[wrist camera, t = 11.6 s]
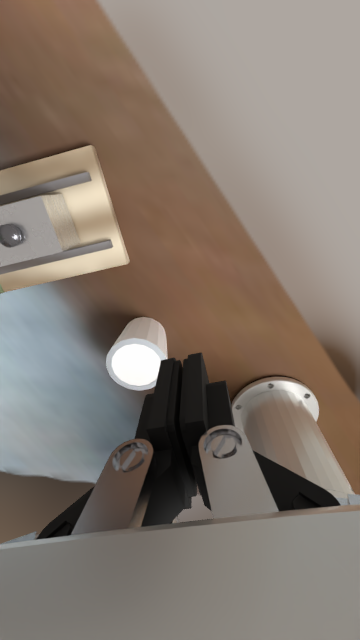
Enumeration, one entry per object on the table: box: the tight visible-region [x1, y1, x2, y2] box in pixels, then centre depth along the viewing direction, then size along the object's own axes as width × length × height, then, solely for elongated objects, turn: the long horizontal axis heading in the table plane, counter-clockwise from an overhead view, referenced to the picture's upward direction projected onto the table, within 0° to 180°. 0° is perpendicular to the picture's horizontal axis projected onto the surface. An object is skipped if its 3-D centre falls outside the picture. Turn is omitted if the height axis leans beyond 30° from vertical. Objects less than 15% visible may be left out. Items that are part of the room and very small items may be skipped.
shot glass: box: [106, 317, 167, 391], centre depth 36 cm, size 7×7×7 cm
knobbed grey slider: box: [0, 194, 80, 267], centre depth 29 cm, size 7×8×6 cm
